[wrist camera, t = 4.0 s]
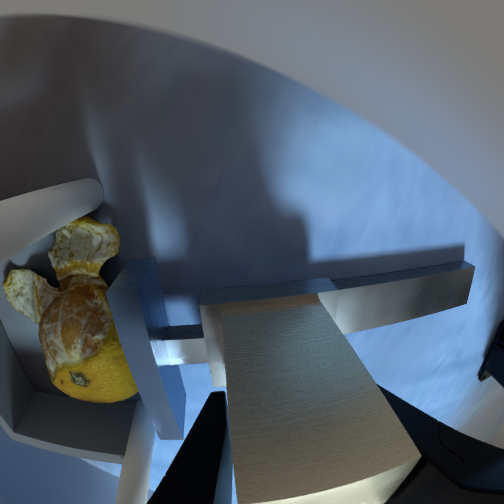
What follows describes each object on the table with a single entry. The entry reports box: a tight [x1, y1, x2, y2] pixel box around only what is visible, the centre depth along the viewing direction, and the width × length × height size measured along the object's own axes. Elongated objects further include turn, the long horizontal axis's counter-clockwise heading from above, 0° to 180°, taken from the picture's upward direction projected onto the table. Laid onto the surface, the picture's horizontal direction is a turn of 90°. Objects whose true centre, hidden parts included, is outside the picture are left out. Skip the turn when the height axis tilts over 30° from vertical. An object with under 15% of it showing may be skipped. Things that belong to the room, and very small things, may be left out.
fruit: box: [2, 215, 138, 403], centre depth 10 cm, size 8×8×4 cm
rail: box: [331, 261, 475, 334], centre depth 13 cm, size 10×2×1 cm, turn 93°
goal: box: [0, 178, 155, 504], centre depth 9 cm, size 10×13×7 cm
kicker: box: [106, 257, 422, 504], centre depth 8 cm, size 8×7×8 cm
